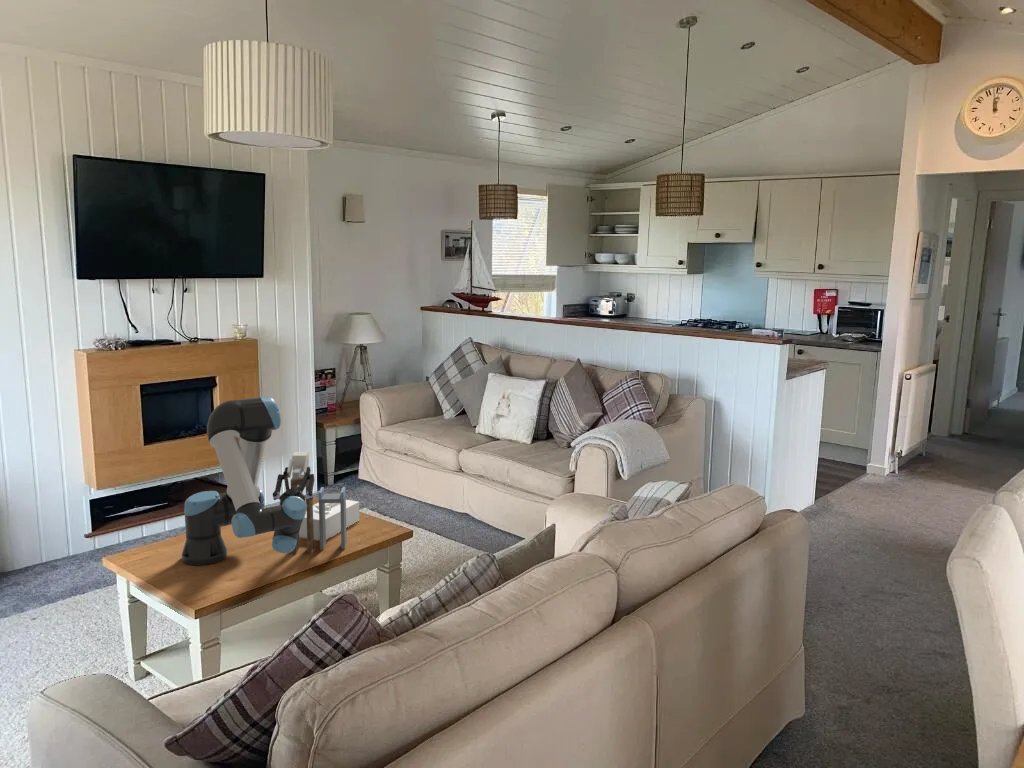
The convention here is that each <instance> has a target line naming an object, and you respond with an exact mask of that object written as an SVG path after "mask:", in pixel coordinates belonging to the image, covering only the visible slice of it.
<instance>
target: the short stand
mask: <svg viewBox="0 0 1024 768" xmlns="http://www.w3.org/2000/svg"><path fill="white" fill-rule="evenodd" d="M346 487H347V486H343V487H342V489H341V490H340V492H339V493H336V492H335V493H334V492H333V493H332V492H331V493H325V487H324V486H321V487H320V490H318V491H319V492H318V503H319V529H320V541H319V550H321V551H323V550H324V549H325V547H324V546H326V545H327V540H326V526H325V503H340V509H341V532H340V544H341V545H340V546H341V548H340V549H341V550H345V549H346V546H347V544H348V543H347V542H348V540H347V539H348V538H347V534H348V533H347V529H346V500H347V495H346V493H347V492H346V491H347V490H346ZM322 549H323V550H322Z"/></svg>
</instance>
